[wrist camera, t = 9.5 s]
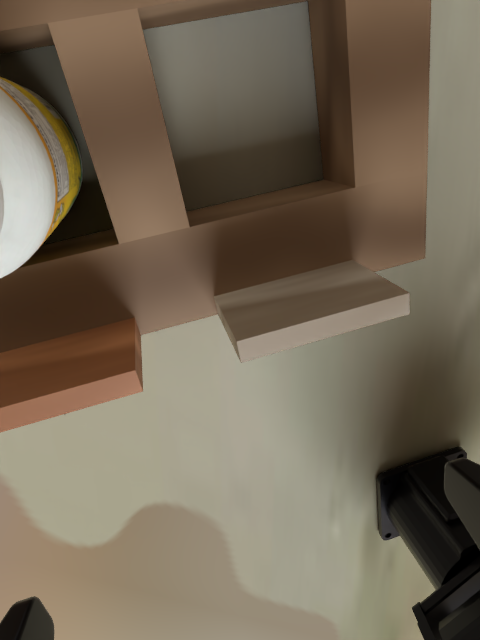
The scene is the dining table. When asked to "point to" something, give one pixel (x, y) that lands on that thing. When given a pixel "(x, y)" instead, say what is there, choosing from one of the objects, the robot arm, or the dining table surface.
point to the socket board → (218, 220)
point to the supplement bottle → (33, 173)
